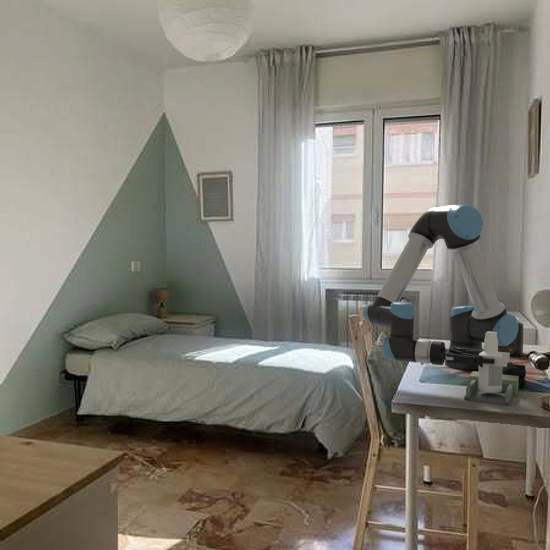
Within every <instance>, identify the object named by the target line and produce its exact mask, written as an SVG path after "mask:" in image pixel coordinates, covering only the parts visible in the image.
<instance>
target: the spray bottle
mask: <svg viewBox="0 0 550 550" xmlns="http://www.w3.org/2000/svg"><path fill="white" fill-rule="evenodd" d="M483 343H484V345H483V349H484V351H483V352H481V353H479V356H483V358H484V355H486V356H497V357H503V356H502V354H500V353H499V352H498V339H497V332H491V331H488V332H486V333H485V339H484V342H483ZM502 369H503V367H502V366H492V365H483V367H480V365H479V369H478V372H479V375H478V389H479V390H480V391H483V392H488V393H499V392H501V391H502Z"/></svg>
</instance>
